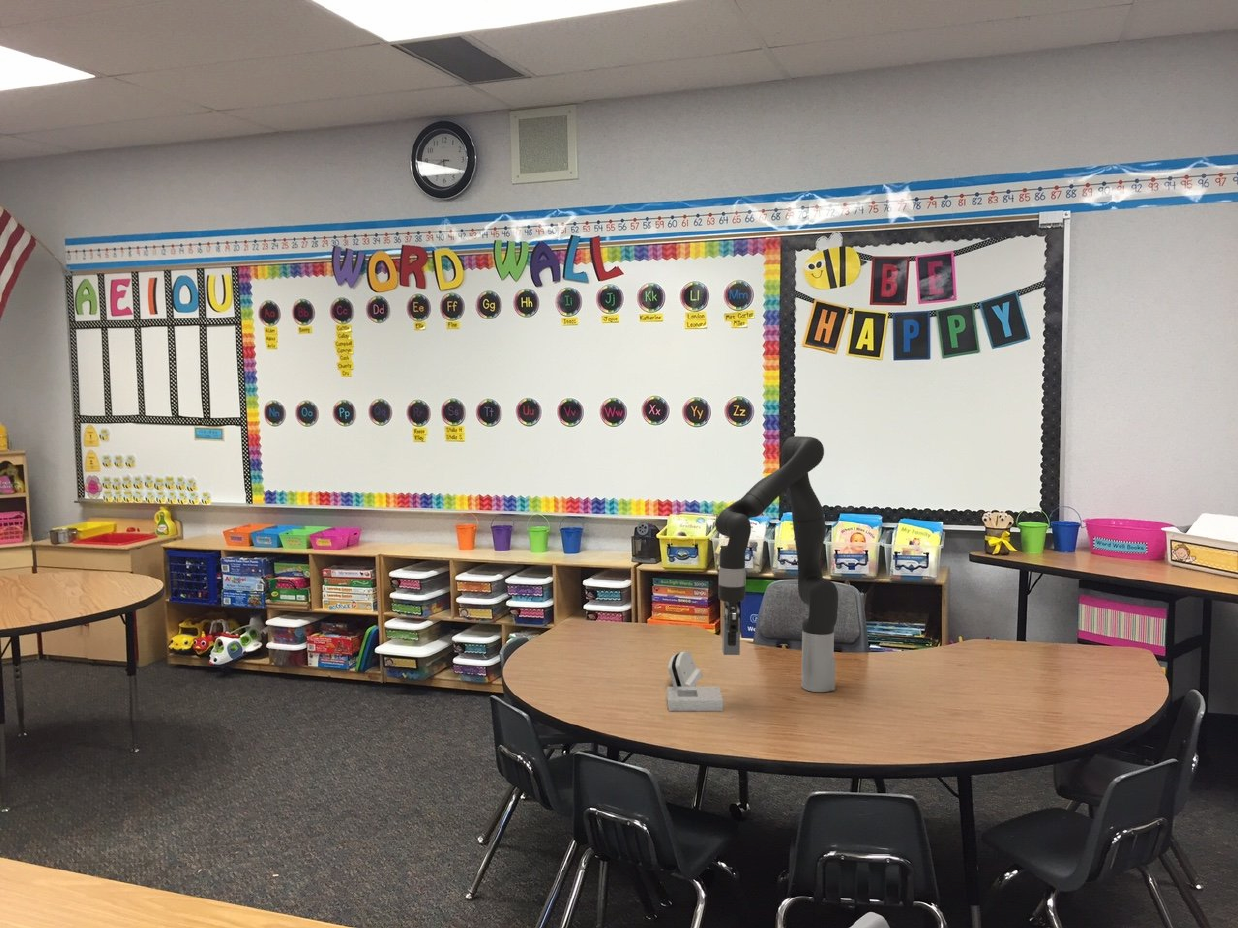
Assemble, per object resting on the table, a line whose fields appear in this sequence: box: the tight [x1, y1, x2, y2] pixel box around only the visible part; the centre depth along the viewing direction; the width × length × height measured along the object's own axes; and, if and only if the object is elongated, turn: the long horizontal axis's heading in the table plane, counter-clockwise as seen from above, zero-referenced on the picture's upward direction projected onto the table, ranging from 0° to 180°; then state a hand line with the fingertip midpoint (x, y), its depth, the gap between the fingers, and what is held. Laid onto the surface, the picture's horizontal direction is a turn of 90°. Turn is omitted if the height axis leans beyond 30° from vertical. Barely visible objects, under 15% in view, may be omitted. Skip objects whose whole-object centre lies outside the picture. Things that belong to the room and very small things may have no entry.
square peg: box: [721, 615, 741, 656], centre depth 265 cm, size 4×4×10 cm
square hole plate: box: [666, 686, 724, 712], centre depth 267 cm, size 15×12×3 cm
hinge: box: [667, 651, 703, 687], centre depth 286 cm, size 17×5×10 cm, turn 163°
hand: (730, 642), depth 265 cm, fingers closed on square peg, 4 cm apart
